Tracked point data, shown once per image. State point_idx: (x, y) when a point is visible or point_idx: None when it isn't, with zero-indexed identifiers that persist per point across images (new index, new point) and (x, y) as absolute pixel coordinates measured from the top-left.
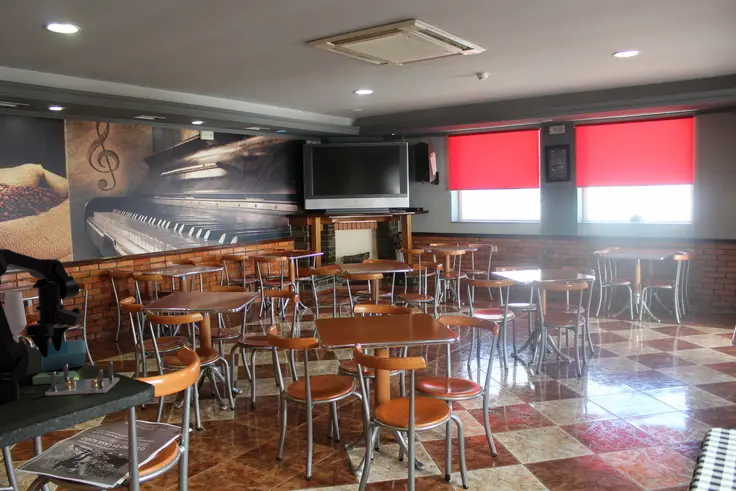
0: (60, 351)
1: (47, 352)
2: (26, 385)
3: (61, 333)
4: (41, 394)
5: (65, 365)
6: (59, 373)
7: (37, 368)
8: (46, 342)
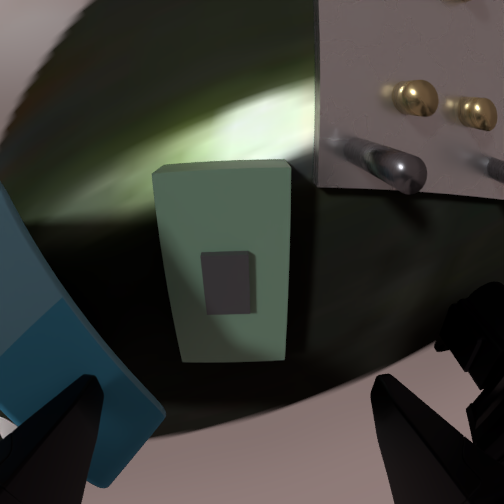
0: (82, 362)
1: (411, 398)
2: (292, 353)
3: (8, 500)
4: (472, 220)
5: (425, 170)
6: (224, 252)
7: None
8: (496, 468)
